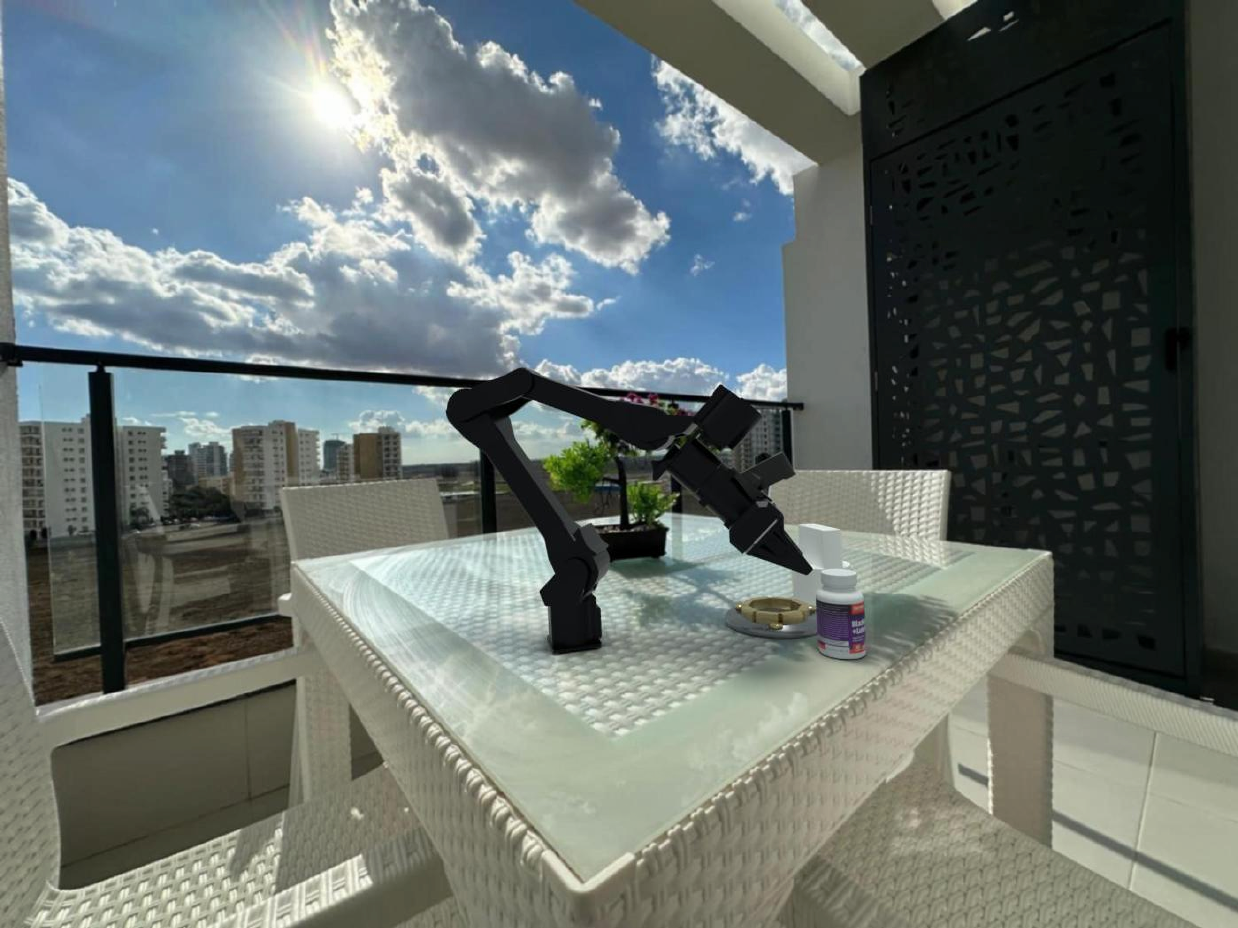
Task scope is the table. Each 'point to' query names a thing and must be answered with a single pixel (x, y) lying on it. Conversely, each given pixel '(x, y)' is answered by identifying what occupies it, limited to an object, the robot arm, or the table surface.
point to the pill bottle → (840, 615)
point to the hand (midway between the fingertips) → (805, 564)
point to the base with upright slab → (817, 559)
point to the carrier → (773, 618)
